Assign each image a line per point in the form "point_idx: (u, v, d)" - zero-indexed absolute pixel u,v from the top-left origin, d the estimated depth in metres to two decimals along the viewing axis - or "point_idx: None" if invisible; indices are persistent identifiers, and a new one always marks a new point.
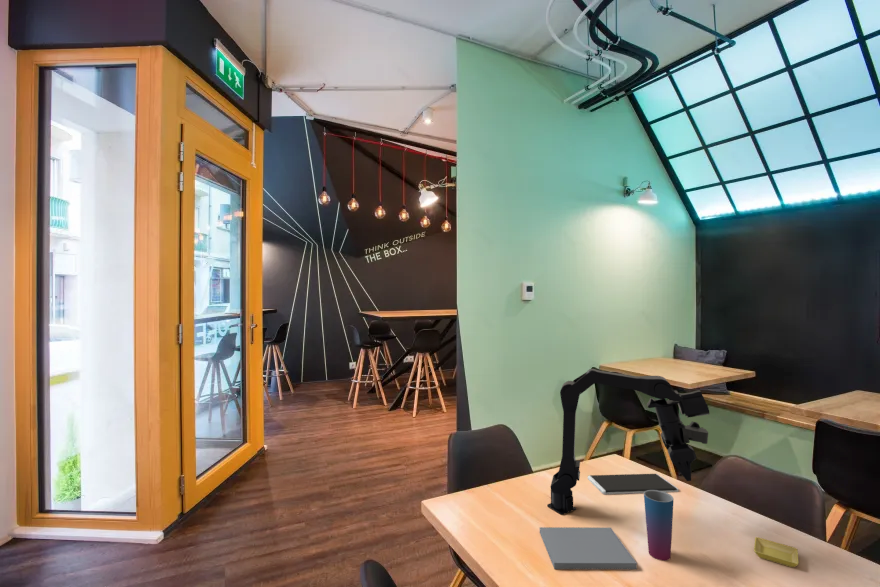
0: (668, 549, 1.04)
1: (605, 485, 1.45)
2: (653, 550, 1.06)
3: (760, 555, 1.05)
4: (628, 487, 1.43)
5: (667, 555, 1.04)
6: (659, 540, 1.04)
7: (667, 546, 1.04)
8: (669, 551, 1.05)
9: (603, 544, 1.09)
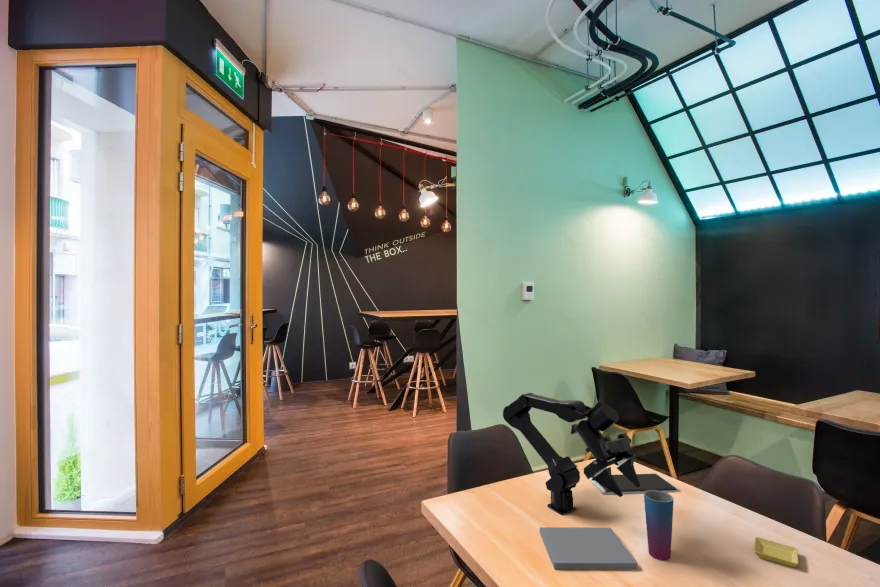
0: (668, 549, 1.04)
1: None
2: (653, 550, 1.06)
3: (760, 555, 1.05)
4: (628, 487, 1.43)
5: (667, 555, 1.04)
6: (659, 540, 1.04)
7: (667, 546, 1.04)
8: (669, 551, 1.05)
9: (603, 544, 1.09)
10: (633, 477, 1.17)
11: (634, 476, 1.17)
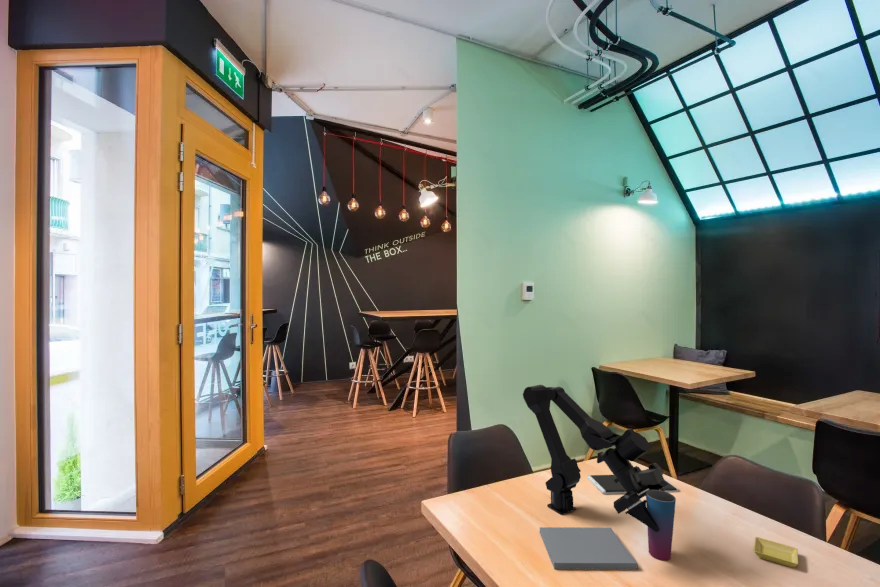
0: (668, 549, 1.04)
1: (605, 485, 1.45)
2: (653, 549, 1.05)
3: (760, 555, 1.05)
4: None
5: (667, 555, 1.04)
6: (660, 540, 1.04)
7: (668, 546, 1.04)
8: (669, 551, 1.05)
9: (603, 544, 1.09)
10: None
11: None
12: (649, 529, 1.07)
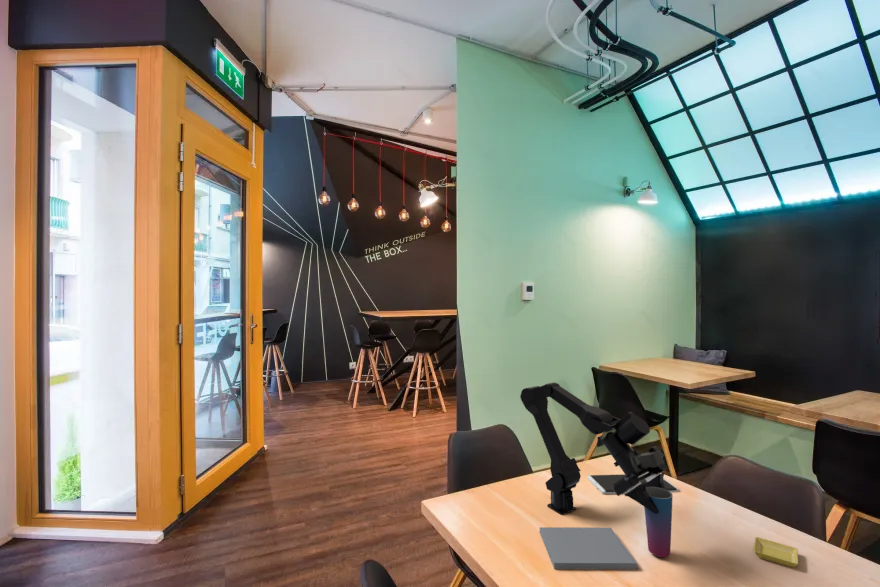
0: (667, 546, 1.05)
1: (605, 485, 1.45)
2: (652, 547, 1.06)
3: (760, 555, 1.05)
4: None
5: (666, 552, 1.05)
6: (658, 537, 1.05)
7: (666, 543, 1.04)
8: (668, 548, 1.05)
9: (603, 544, 1.09)
10: None
11: None
12: (647, 526, 1.07)
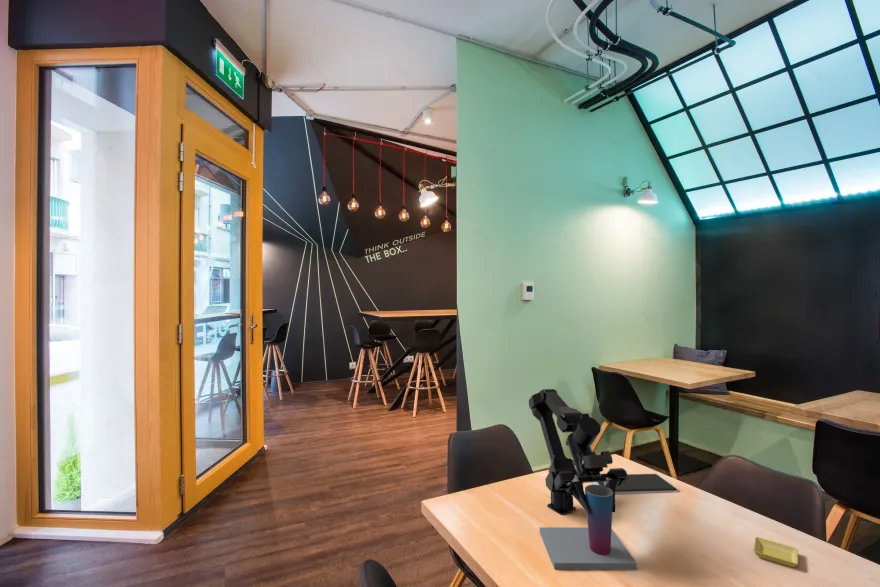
0: (602, 544, 1.04)
1: None
2: (589, 541, 1.07)
3: (760, 555, 1.05)
4: (628, 487, 1.43)
5: (601, 550, 1.04)
6: (592, 532, 1.05)
7: (600, 540, 1.04)
8: (603, 546, 1.04)
9: None
10: None
11: None
12: None
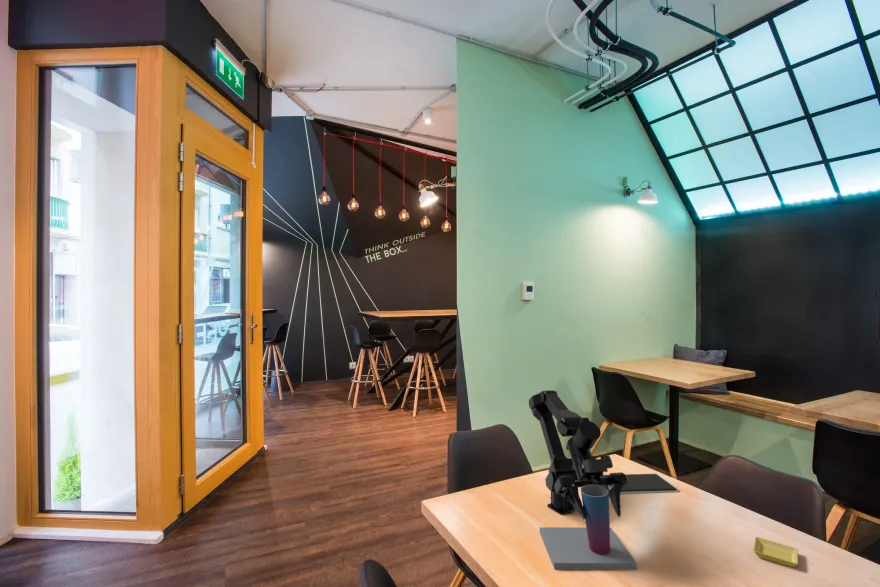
0: (601, 544, 1.04)
1: None
2: (589, 541, 1.07)
3: (760, 555, 1.05)
4: (628, 487, 1.43)
5: (600, 549, 1.04)
6: (590, 533, 1.05)
7: (599, 540, 1.04)
8: (602, 546, 1.04)
9: None
10: (616, 505, 1.07)
11: (616, 504, 1.07)
12: None
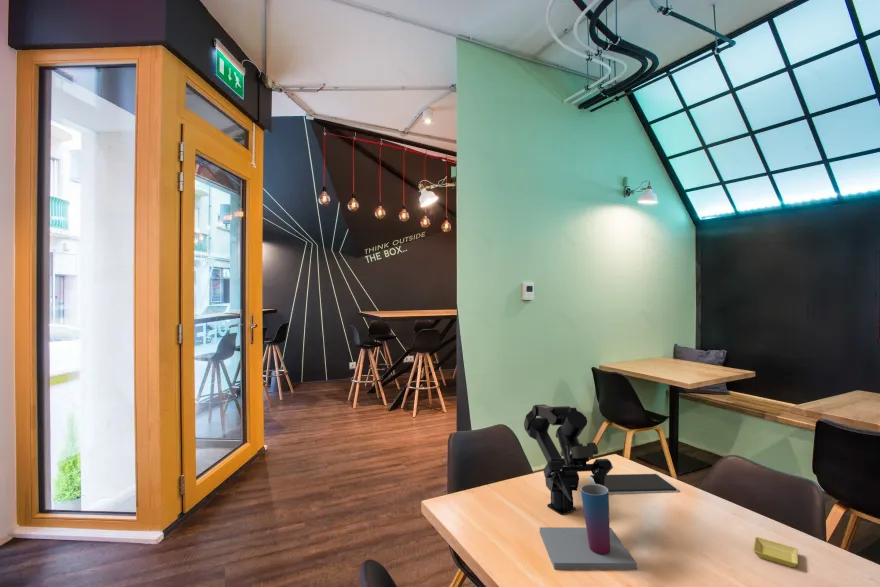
0: (601, 543, 1.04)
1: (605, 484, 1.45)
2: (589, 541, 1.07)
3: (759, 555, 1.05)
4: (628, 487, 1.43)
5: (600, 549, 1.04)
6: (590, 532, 1.06)
7: (599, 540, 1.04)
8: (603, 545, 1.04)
9: None
10: None
11: None
12: None
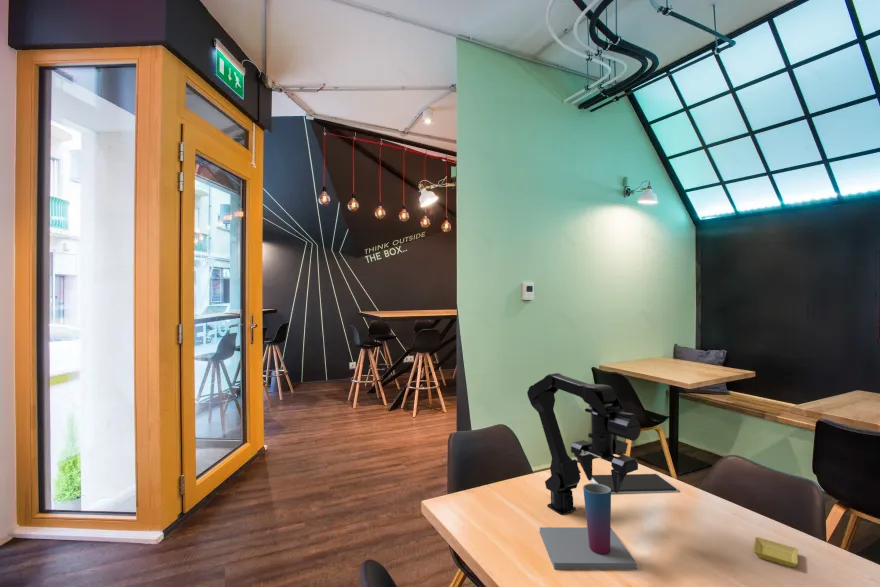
0: (602, 542, 1.04)
1: (604, 484, 1.45)
2: (589, 541, 1.07)
3: (759, 555, 1.05)
4: (628, 487, 1.43)
5: (601, 548, 1.04)
6: (592, 531, 1.06)
7: (600, 539, 1.04)
8: (604, 545, 1.04)
9: None
10: (589, 471, 1.22)
11: (591, 470, 1.22)
12: None
